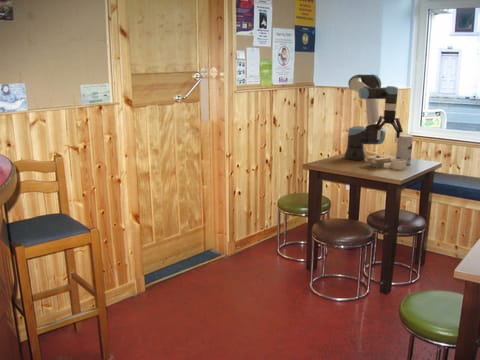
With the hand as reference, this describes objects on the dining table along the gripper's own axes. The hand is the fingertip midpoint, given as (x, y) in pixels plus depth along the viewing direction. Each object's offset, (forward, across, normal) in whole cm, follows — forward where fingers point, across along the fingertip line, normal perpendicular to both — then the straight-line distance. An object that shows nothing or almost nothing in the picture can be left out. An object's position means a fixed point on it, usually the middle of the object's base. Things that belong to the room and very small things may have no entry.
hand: (387, 141), depth 345 cm
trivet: (+18, -4, -3) cm, 19 cm away
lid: (+14, -4, -3) cm, 15 cm away
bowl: (+18, +8, +4) cm, 20 cm away
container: (+18, +2, +20) cm, 27 cm away
